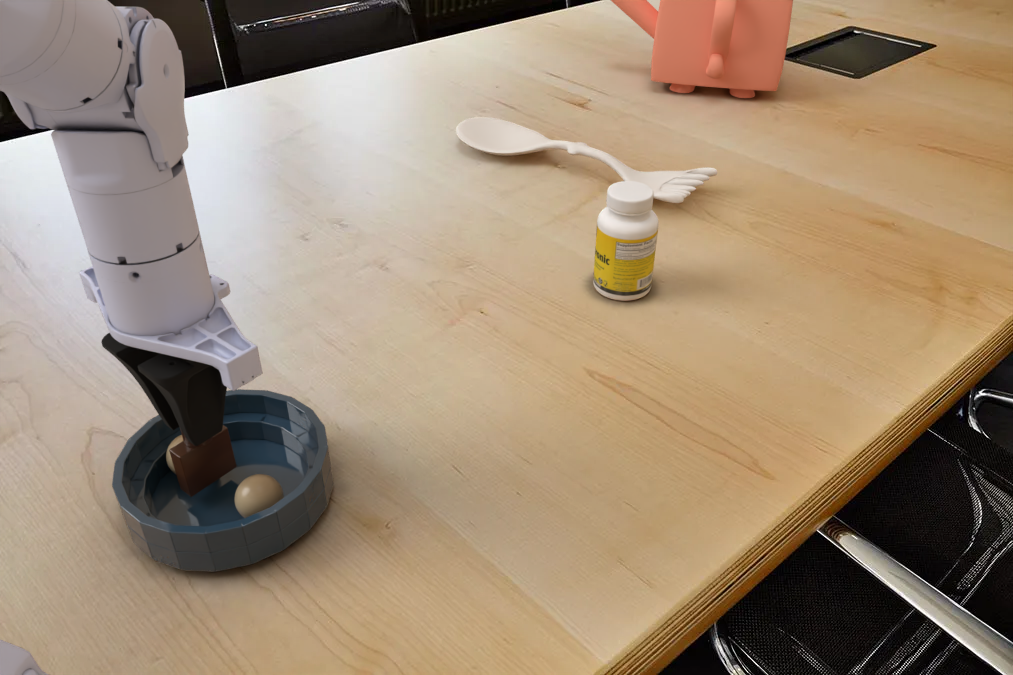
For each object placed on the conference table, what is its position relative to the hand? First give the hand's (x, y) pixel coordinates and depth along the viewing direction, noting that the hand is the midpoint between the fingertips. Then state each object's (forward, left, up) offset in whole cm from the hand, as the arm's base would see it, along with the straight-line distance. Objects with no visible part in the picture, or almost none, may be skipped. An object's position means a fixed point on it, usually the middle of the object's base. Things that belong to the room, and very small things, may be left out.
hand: (195, 428), depth 54 cm
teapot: (+95, +16, -6) cm, 96 cm away
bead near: (+1, -4, -4) cm, 6 cm away
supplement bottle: (+40, -7, -6) cm, 41 cm away
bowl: (+1, -1, -6) cm, 6 cm away
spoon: (+58, +11, -6) cm, 59 cm away
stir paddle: (0, 0, -4) cm, 4 cm away
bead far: (0, +2, -4) cm, 5 cm away
